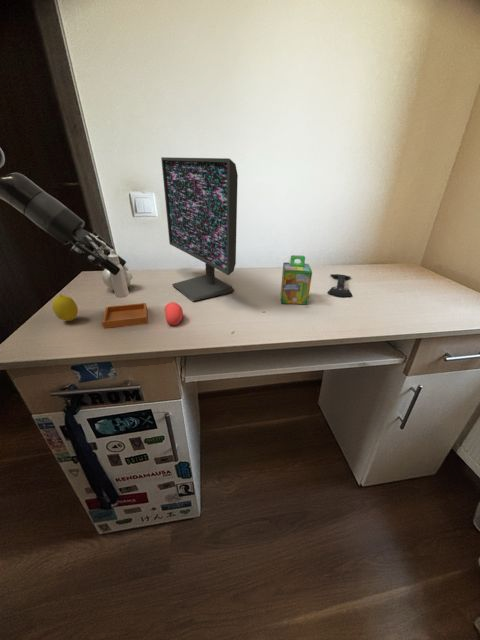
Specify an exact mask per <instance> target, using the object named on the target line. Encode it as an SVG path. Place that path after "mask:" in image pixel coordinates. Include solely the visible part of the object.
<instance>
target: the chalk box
mask: <svg viewBox="0 0 480 640" xmlns="http://www.w3.org/2000/svg"><path fill="white" fill-rule="evenodd" d="M295 260H300V262H296V261H295ZM305 262H306V256H305V255H296V254H295V255H290V261H289V262H282V264H283V265H282V275H281V285H280V303H281V304H289V305H290V304H291V305H305V306H306V305H308V302H309V295H310V290H311V289H310V288H311V283H312V277H313V270H312V269H311V266H310V264H309V263H305Z"/></svg>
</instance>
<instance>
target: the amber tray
mask: <svg viewBox="0 0 480 640" xmlns="http://www.w3.org/2000/svg"><path fill="white" fill-rule="evenodd" d="M101 323H102V326H103V329H111V328H112V329H113V328H120V327H128V326H129V327H130V326H136V325H144V324H148V306H147V302H142V303H129V304H121V305H110V306H105V308H104V314H103V317H102V321H101Z"/></svg>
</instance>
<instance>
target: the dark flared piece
mask: <svg viewBox="0 0 480 640" xmlns="http://www.w3.org/2000/svg"><path fill="white" fill-rule="evenodd" d="M329 276H330V277H331V278H332V279H333V280H336V281H337V283H336V285H335V286H332V287H331V288H330V289H329V290H327V294H328V295H330V296H332V297H336V298H351V297H353V294H352V292H351V290H350V288H348V287H345V283H346V281H349V279H350V278H351V276H350V275H346V274H341V273H333V274H331V273H330V274H329Z"/></svg>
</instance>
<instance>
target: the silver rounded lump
mask: <svg viewBox="0 0 480 640" xmlns="http://www.w3.org/2000/svg"><path fill="white" fill-rule="evenodd" d="M123 270H124V274H125V279H126V283H127V287H129V286H130V285H131V281H132V279H133V273H132V272H130V271H129V267H128V266H126V264H125V265H124V266H123ZM101 276H102V281H103V283H104V285H105V286H106V287H107V288H108V289H109V290H113V291H114V288H113V284H112V280H111V276H110V272H109V271H108V270H107V269H105V268H104V270H103V271H102V274H101Z"/></svg>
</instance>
